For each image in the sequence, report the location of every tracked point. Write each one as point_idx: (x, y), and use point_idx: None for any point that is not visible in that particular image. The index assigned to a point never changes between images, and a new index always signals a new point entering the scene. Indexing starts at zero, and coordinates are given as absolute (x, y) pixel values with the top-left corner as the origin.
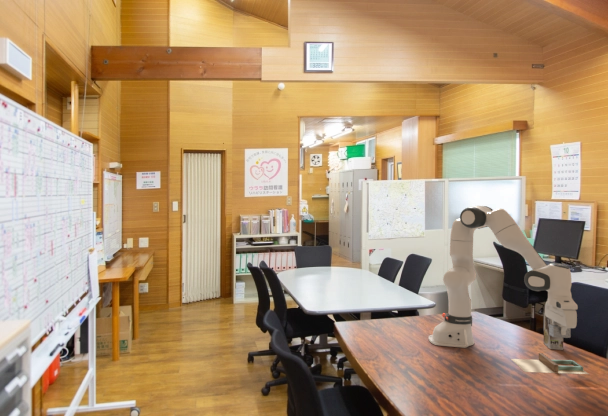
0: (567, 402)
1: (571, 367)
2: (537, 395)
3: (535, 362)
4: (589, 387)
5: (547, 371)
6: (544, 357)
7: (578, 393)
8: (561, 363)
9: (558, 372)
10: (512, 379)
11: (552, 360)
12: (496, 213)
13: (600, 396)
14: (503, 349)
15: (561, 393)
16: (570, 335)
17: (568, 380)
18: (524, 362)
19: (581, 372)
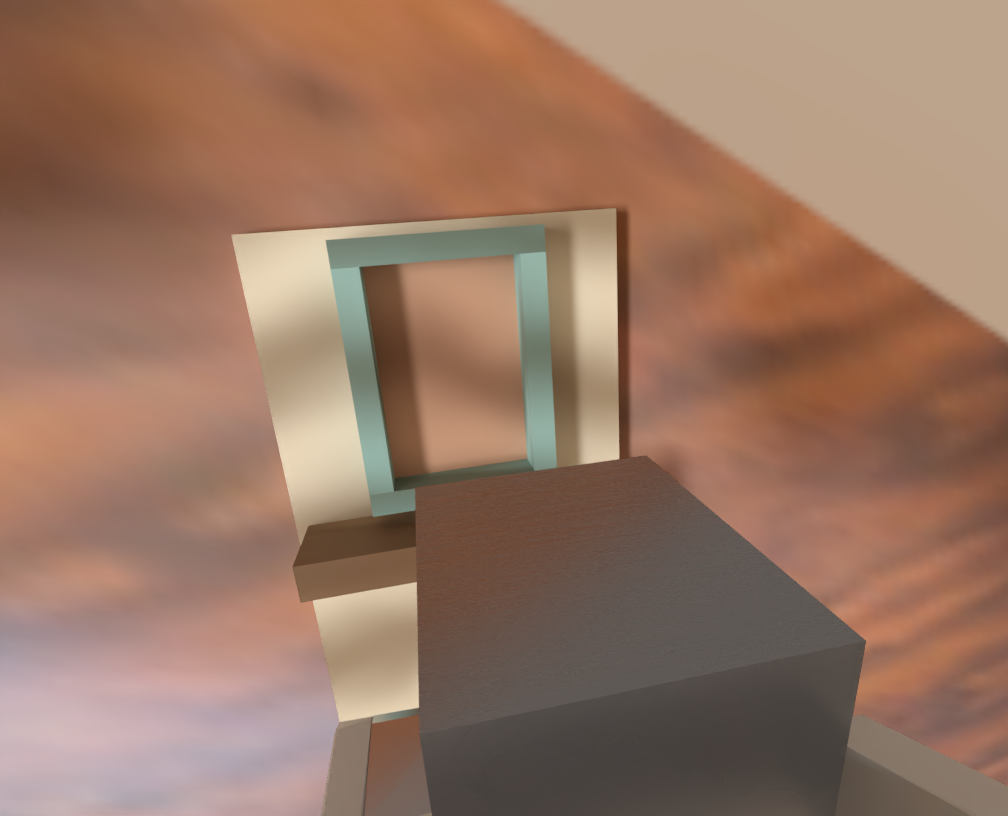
0: (996, 549)
1: (550, 349)
2: (909, 670)
3: (395, 597)
4: (828, 329)
5: None
6: None
7: (906, 447)
8: (378, 377)
9: None
10: None
11: (391, 474)
12: None
13: (957, 321)
14: (18, 780)
15: (898, 546)
16: (674, 480)
17: (711, 434)
18: (417, 677)
19: (584, 269)
